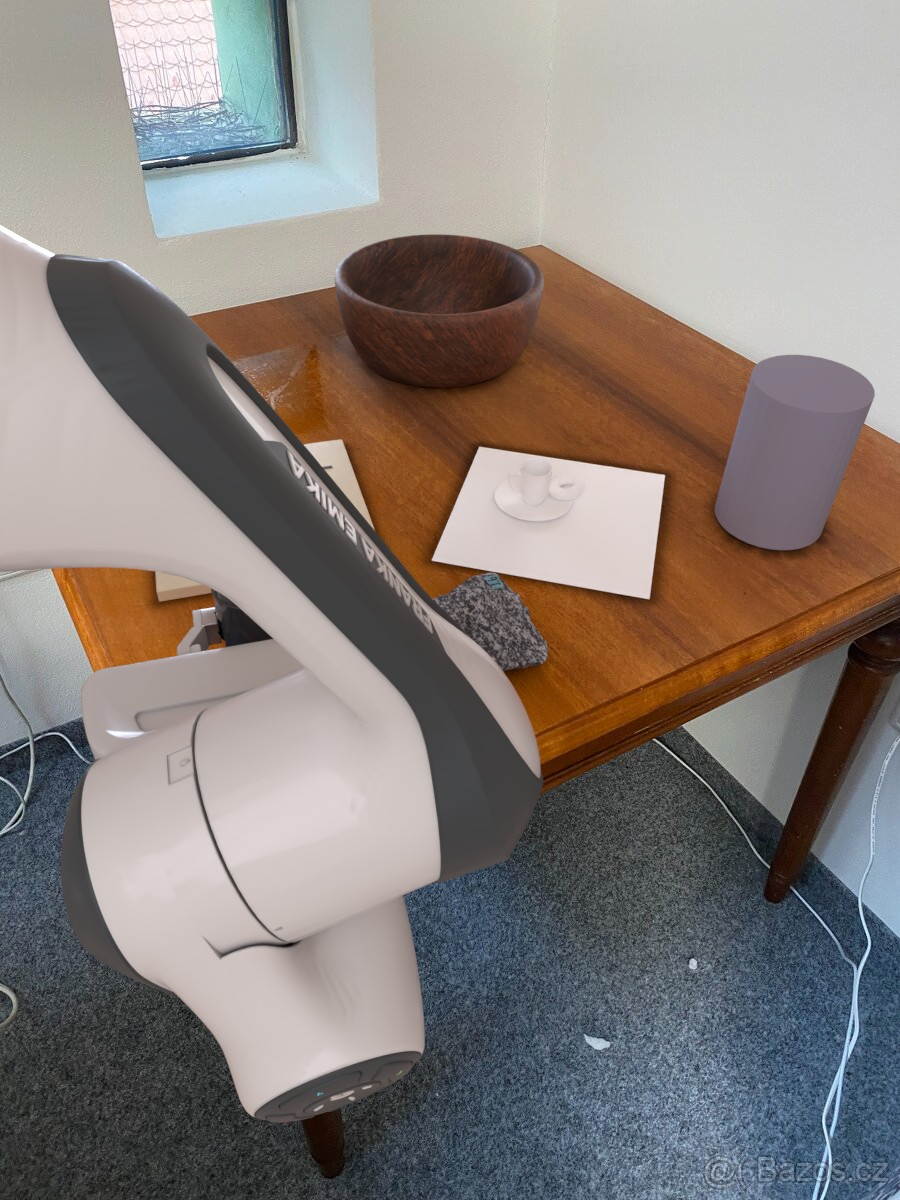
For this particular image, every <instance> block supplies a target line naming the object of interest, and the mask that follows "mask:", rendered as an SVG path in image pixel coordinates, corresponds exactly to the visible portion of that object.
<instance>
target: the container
mask: <svg viewBox="0 0 900 1200" xmlns="http://www.w3.org/2000/svg"><path fill="white" fill-rule="evenodd" d="M875 396H876V395H875V388H874V387H873V384H872V383H871V382H870V380H869V379H868V378H867V377H866V376H864V374H862V373H861V372H859V371H857V370H856V369H854V368H852V367H850V366H848V365H845V364H844V363H840V362H837V361H834V360H832V359H827V358H824V357H819V356H813V355H808V354H807V355H806V354H805V355H804V354H782V355H775V356H771V357H768V358H765V359H763V360H760V361H759V362H758V363H756V364H755V366H754V367H752V369H751V373H750V377H749V381H748V385H747V389H746V392H745V396H744V398H743V399H744V400H743V403H742V406H741V410H740V413H739V418H738V421H737V425H736V428H735V432H734V435H733V439H732V442H731V446H730V451H729V453H728V457H727V461H726V464H725V467H724V472H723V475H722V479H721V483H720V486H719V490H718V493H717V496H716V499H715V504H714V515H715V517H716V519H717V522H718V523H719V524H720V526H721V527H722V528H723V529H724V530H725V531H726V532H727V533H728V534H730V535H732V536H733V537H734V538H736V539H738V540H740V541H742V542H744V543H746V544H749V545H751V546H755V547H757V548H761V549H762V548H763V549H766V550H773V551H794V550H800V549H803V548H805V547H809V546H810V545H812V544H814V543H815V542H816V541H818V540H819V538H820V537H821V535H822V533H823V531H824V528H825V525H826V522H827V521H828V518H829V515H830V512H831V510H832V507H833V505H834V502H835V499H836V497H837V494H838V491H839V489H840V487H841V484H842V481H843V479H844V476H845V473H846V471H847V468H848V466H849V463H850V461H851V458H852V455H853V453H854V450H855V448H856V445H857V442H858V440H859V438H860V435H861V433H862V431H863V427H864V425H865V423H866V420H867V417H868V415H869V412H870V409H871V407H872V405H873V402H874V399H875Z"/></svg>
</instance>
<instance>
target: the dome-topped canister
mask: <svg viewBox="0 0 900 1200" xmlns="http://www.w3.org/2000/svg"><path fill="white" fill-rule="evenodd" d="M210 594H211V597H212V602H213V607H215V612H216V616H217V619H218V624H219V630H220V633H221V638H222V643H221V644H222V648H224V647H230V646H236V645H241V644H247V643H253V642H258V641H264V640H270V639H273V638H272V637H271V636H270V635H269V634H268V633H267V632H266V631H264V630H263V629H262V628H261V627H260V626H259V625H258V624H257V623H256V622H255V621H253V620H252V619H251V618H250V617H249V616H248V615H247V614H246V613H245V612H244V611H242V610H241V609H240V608H239V607H238V606H237V605H236V604H234V603H233V602H232V601H231V600H229V599H228V598H227V597H225V596H224V595H222V594H221V593H219V592H217V591H215V590H214V589H212V588H211V593H210Z"/></svg>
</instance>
